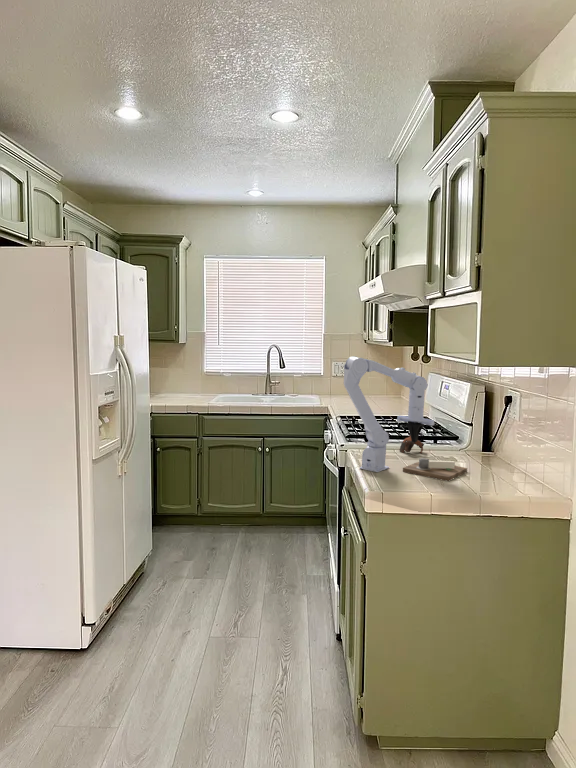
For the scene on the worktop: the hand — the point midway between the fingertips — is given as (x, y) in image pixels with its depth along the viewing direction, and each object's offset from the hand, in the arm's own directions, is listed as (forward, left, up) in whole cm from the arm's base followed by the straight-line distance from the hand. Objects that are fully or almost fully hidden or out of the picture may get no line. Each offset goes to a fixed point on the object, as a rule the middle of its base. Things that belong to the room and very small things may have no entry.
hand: (414, 441), depth 220 cm
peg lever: (0, -10, -8) cm, 13 cm away
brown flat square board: (+1, -9, -10) cm, 14 cm away
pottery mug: (+24, +13, -11) cm, 29 cm away
